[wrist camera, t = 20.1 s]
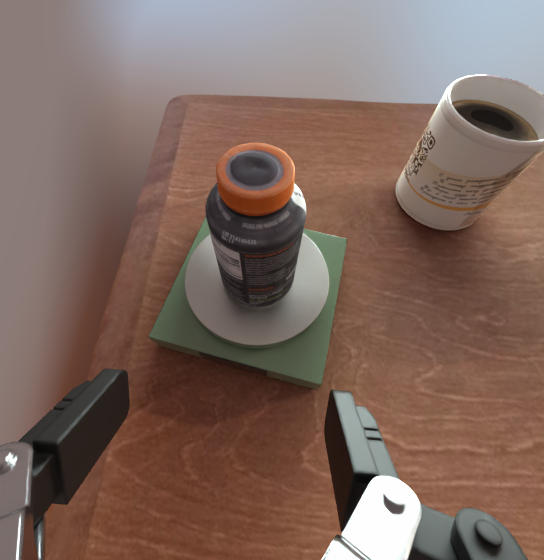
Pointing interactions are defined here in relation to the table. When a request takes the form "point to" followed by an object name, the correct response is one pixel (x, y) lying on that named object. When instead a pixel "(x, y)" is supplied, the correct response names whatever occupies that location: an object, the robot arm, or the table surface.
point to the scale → (256, 314)
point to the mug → (472, 150)
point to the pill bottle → (256, 223)
